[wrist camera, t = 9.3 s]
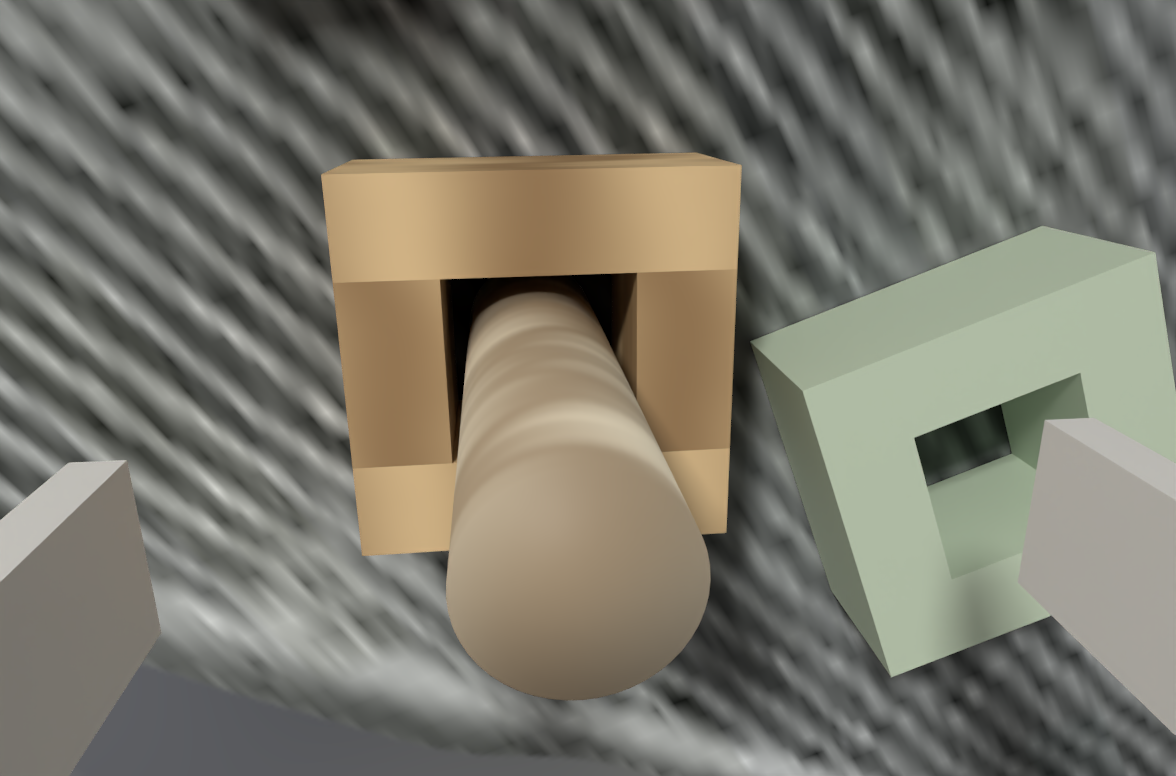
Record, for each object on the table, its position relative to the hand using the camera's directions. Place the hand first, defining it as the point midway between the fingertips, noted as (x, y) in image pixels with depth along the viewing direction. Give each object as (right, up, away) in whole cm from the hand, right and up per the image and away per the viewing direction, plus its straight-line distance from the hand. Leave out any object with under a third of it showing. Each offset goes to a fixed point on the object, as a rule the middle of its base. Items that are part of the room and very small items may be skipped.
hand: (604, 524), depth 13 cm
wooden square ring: (-2, +4, +12) cm, 12 cm away
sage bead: (+10, +1, +14) cm, 17 cm away
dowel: (-2, +4, +12) cm, 12 cm away
